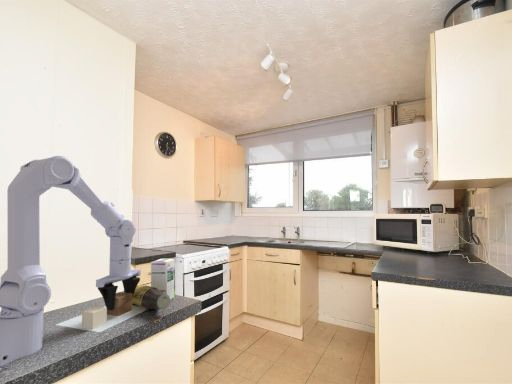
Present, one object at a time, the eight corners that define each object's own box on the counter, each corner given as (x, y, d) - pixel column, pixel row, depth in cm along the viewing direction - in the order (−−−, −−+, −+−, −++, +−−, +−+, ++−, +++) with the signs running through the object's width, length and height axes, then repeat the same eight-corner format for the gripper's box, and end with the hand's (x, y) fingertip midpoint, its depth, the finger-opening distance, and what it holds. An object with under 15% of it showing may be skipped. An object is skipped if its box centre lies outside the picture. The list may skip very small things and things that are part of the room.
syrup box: (167, 307, 85) (167, 261, 86) (150, 306, 86) (150, 261, 87) (175, 301, 90) (175, 258, 92) (159, 300, 91) (159, 258, 93)
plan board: (99, 335, 65) (99, 332, 65) (55, 327, 71) (55, 324, 71) (151, 310, 82) (151, 307, 82) (112, 305, 88) (112, 303, 88)
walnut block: (118, 316, 76) (118, 298, 76) (105, 314, 77) (105, 296, 78) (132, 310, 80) (132, 293, 81) (119, 308, 82) (119, 292, 83)
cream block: (92, 328, 68) (93, 312, 68) (81, 327, 69) (82, 311, 69) (106, 322, 71) (106, 307, 72) (95, 321, 73) (96, 306, 73)
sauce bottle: (139, 280, 91) (168, 283, 77) (150, 294, 92) (179, 299, 79) (123, 295, 86) (149, 300, 73) (134, 309, 88) (162, 317, 74)
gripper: (109, 264, 72) (108, 316, 71) (148, 256, 86) (147, 299, 84) (90, 263, 74) (89, 313, 73) (131, 255, 88) (130, 297, 87)
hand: (119, 305), depth 79 cm, fingers open, 6 cm apart
